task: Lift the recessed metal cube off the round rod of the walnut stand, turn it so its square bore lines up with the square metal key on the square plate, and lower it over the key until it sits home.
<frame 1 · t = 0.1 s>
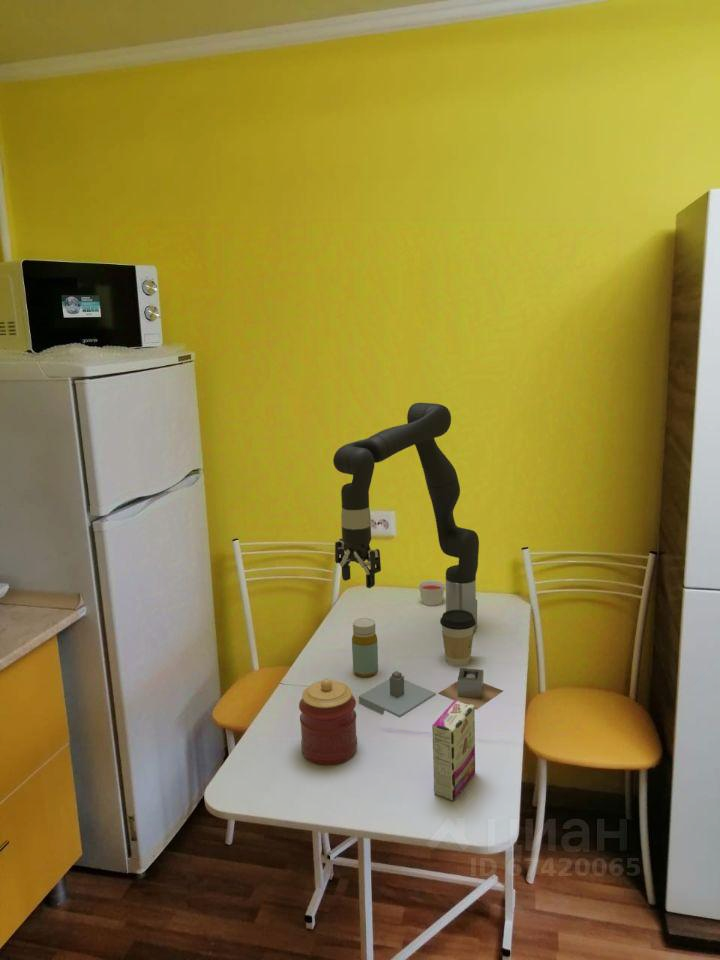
hand: (358, 583, 189), 29 cm above the table, tool pointing down, fingers open, 8 cm apart
stand: (470, 697, 187), on the table
candle: (432, 602, 249), on the table
coffee cup: (457, 665, 205), on the table
square plate: (397, 701, 186), on the table
bottle: (365, 672, 202), on the table
candy bar box: (454, 784, 153), on the table
canister: (329, 750, 167), on the table
recessed metal cube: (470, 692, 187), point 1 cm above the table, touching stand
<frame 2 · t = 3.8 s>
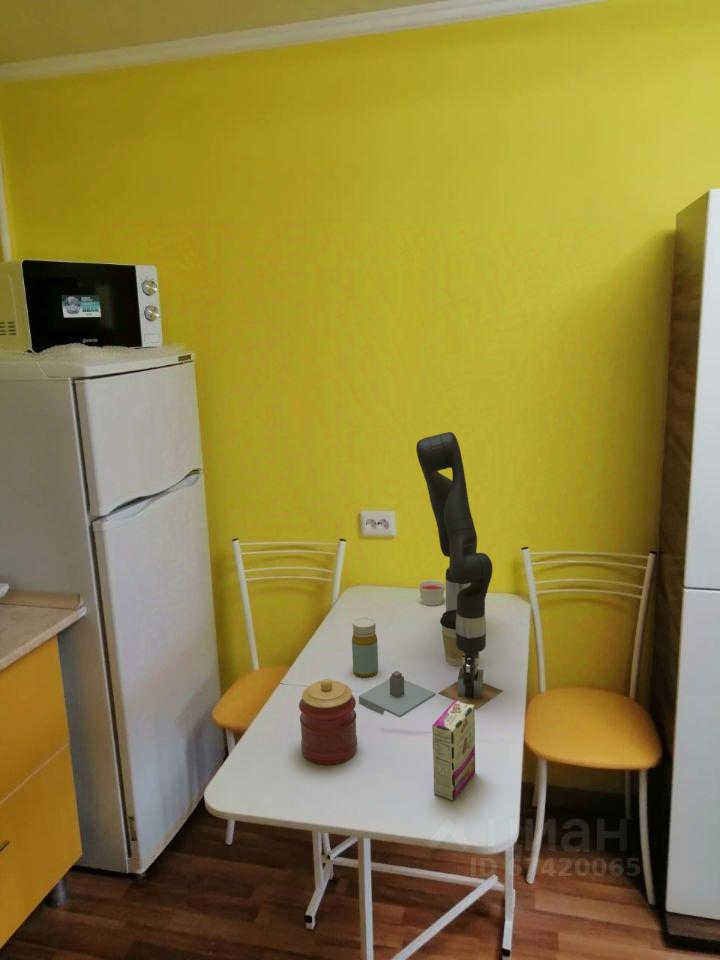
hand: (470, 689, 187), 2 cm above the table, tool pointing down, fingers closed on recessed metal cube, 6 cm apart
recessed metal cube: (470, 692, 187), point 2 cm above the table, touching gripper, stand
everything else where it was.
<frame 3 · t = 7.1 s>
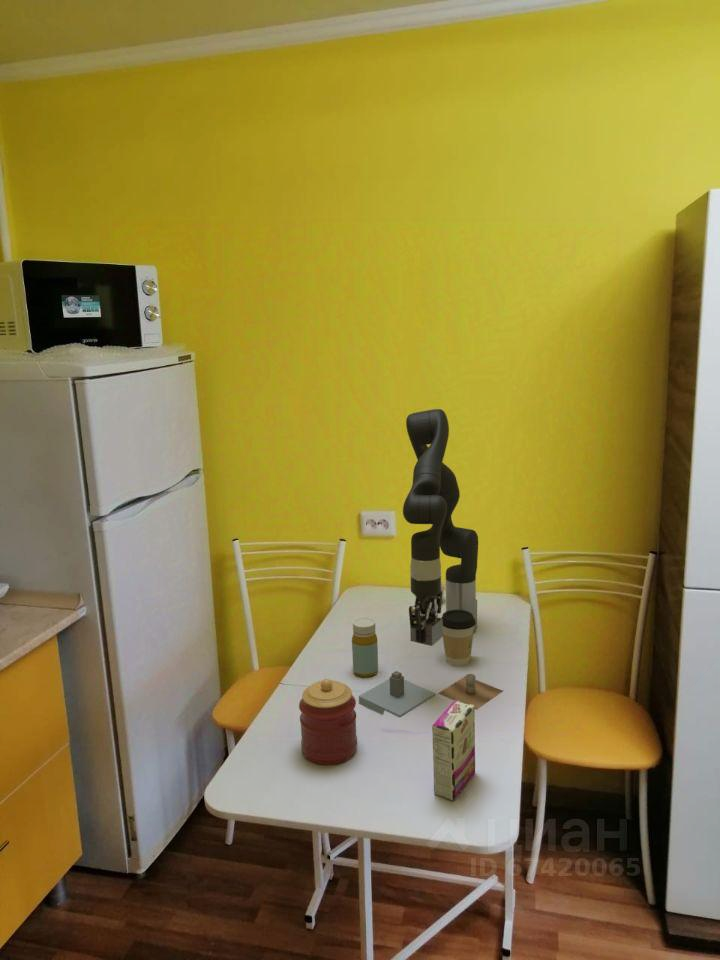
hand: (426, 636, 182), 18 cm above the table, tool pointing down, fingers closed on recessed metal cube, 6 cm apart
recessed metal cube: (426, 638, 183), point 17 cm above the table, touching gripper
everything else where it was.
when the fingers open (4 cm above the table, at t = 10.6 s): recessed metal cube stays where it is, resting on square plate.
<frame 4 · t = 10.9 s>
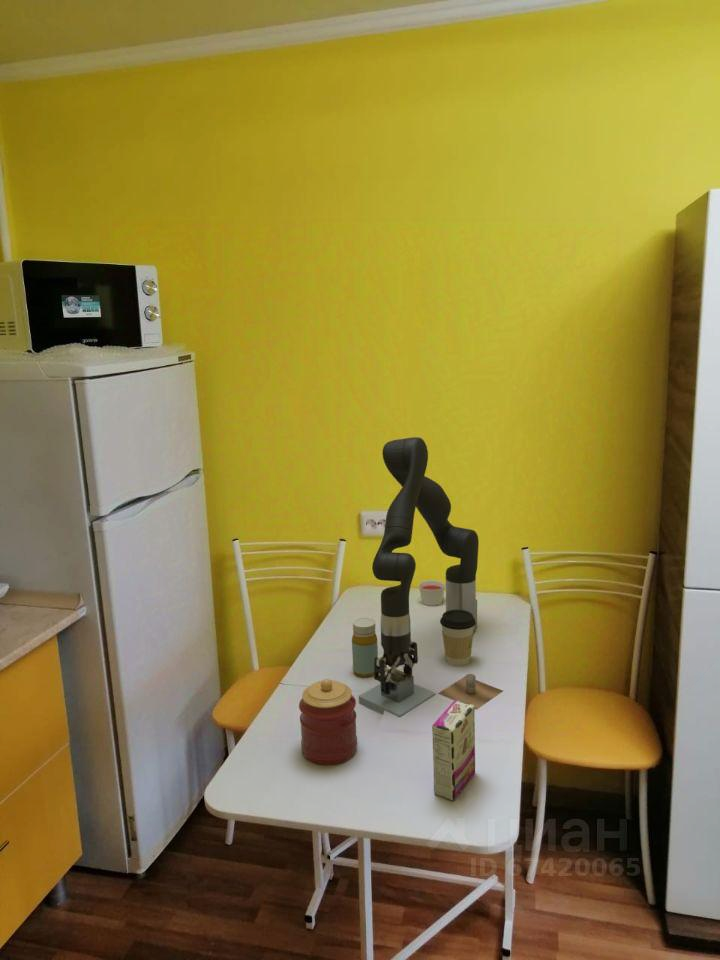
hand: (396, 687, 185), 4 cm above the table, tool pointing down, fingers open, 8 cm apart
recessed metal cube: (397, 694, 186), point 2 cm above the table, touching square plate
everything else where it was.
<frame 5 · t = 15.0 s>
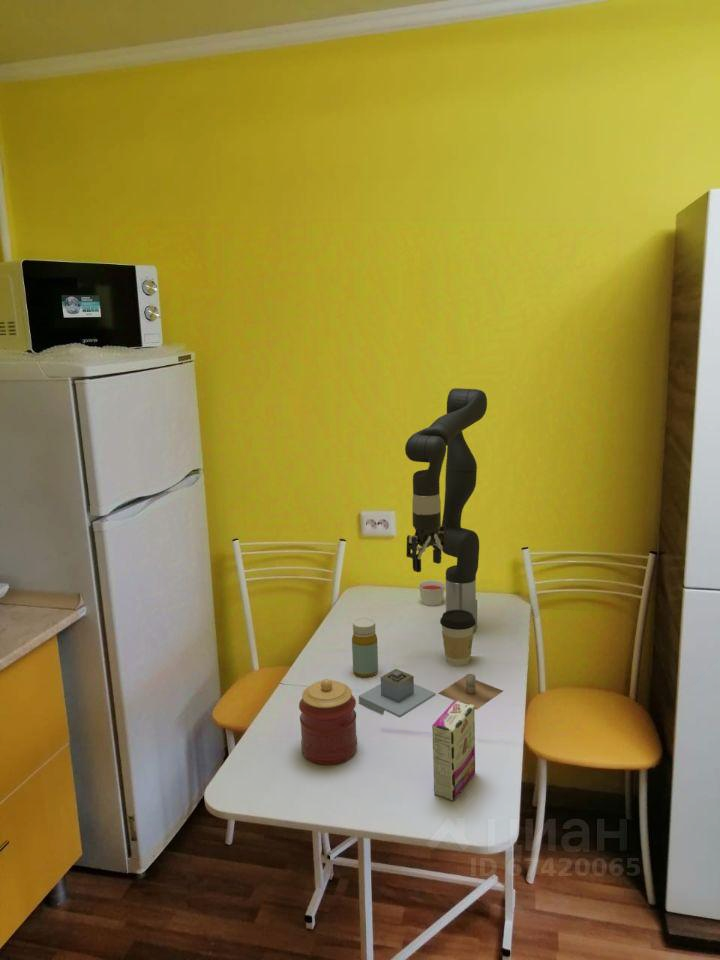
hand: (427, 567, 196), 30 cm above the table, tool pointing down, fingers open, 8 cm apart
nothing on the table moved.
at the end: recessed metal cube 0.1 cm off-centre on the square plate, point 2.0 cm above the square plate's base; recessed metal cube tilted 0°; the gripper is holding nothing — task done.
